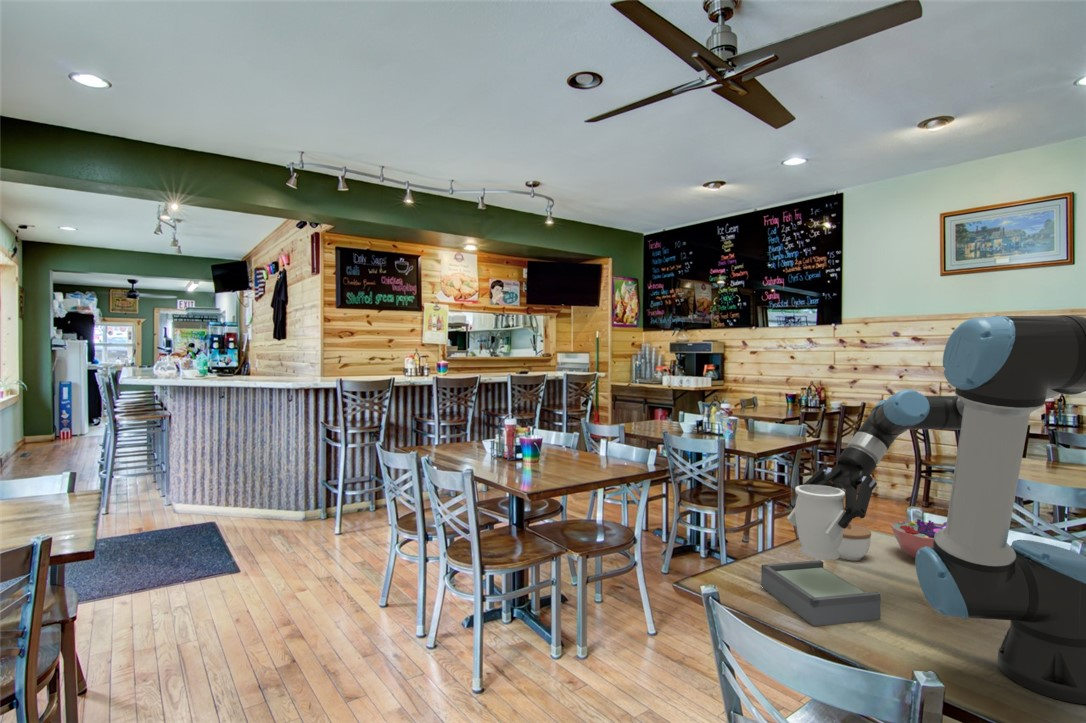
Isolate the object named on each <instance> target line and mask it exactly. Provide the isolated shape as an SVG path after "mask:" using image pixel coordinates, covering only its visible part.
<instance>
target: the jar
mask: <svg viewBox="0 0 1086 723" xmlns="http://www.w3.org/2000/svg"><path fill="white" fill-rule="evenodd" d="M794 491H795V494H797V496H796V500H795V504H796V505H795V504H794V505H795V520H796V532H797V536H798V539H799V542H800V543H801V546H800V548H799V552H800V554H802V555H803V556H805V557H808V558H811V559H814V560H821V561H834V560H837V559H840V553H839V552H838V550H837V549H838V548H839V546H840V544H841V541H842V537H843V531H844V528H843V530H842V531H841V532H840V534H839V535H838V537H837V538H836V540H835V541H832V540H831V539H830V538H829V537H828V536H827V535H826V533H825V532H826V530H827V529H828V528H829V526H830V525H831V523H832V522H833V520H834V519H835V518H836V516H837V515H838V513H839V512H840V510H844V508H845V505H844V500H843V499H845V498H846V491H845V490H844V489H842V488H834V487H830V486H823V485H803V484H801V485H797V486H795V489H794ZM844 511H845V510H844ZM845 512H846V511H845Z"/></svg>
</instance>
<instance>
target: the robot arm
mask: <svg viewBox="0 0 1086 723" xmlns="http://www.w3.org/2000/svg"><path fill="white" fill-rule="evenodd" d="M942 367H943V368H944V370H943V374H944V378H945V379H946V381H947V382H948V384H950V386H952V387H953V388H955V390H954V394H955V395H924V394H923V393H921V392H918V391H917V390H914V389H903V390H900V391H897V392H896V393H895V394H892V395H891V396H889V397H887V399H882V400H880V401H879V402H878V403H876V405H874V407H872V409H871V410H870V413H869V415H868V416H867V418H866V419H865V420H864V421H863V422H862V425H861V426H860V427H859V429H858V430H857V431H856V433H855V434H854V435H853V437H852V438H851V440H850V441H849V442H848V443H847V444H846V447H845V448H844V449H843V451H842V452H841V453H840V454H839V456H838V458H837V463H836V465H835V466H833V467H828V466H827V465H826V464H822V465H821V467H820V468H819V470H817V472H815V473H814V474H813V475H812V476H811V477H810V478H809V479H807V480H806V481H805V482H804V483H803V484H802V485H823V486H830V487H834V488H838V489H842V490H844V491H845V497H844V499H845V505H844V510H845V511H844V510H840V512H839V513H838V515H837V516H836V518H835V519H834V520H833V522H832V523H831V525H830V526H829V528H828V529H827V530H826V532H825V533H826V535H827V536H828V537H829V538H830V539H831V540H832V541H835V540H836V538H837V537H838V535H839V534H840V532H841V531H842V530H843V528H844V529H845V528H847V526H848V525H849V523H851V522H852V520H853V519H855V518H860V519H864V518H865V517H866V515H867V511H868V508H869V504H870V500H871V497H872V493H873V490H874V489H875V488H876V487H877V485H878V482H877V481H876V480H875V479H874V478H873V477H872V474H873V473H874V471H875V469H876V468H877V465H878V464H879V463H880V462H881V460H882V459H883V457H884V456H885V454H886V453H887V452H888V450H889V449H890V448H891V446H892V444H893V443H894V442H895V440H896V439H897V438H898V437H899V436H901V435H902V434H903V433H905V432H907V431H908V430H949V431H950V430H951V431H952V430H953V431H954V430H955V431H956V430H958V431H959V437H958V445H957V451H956V458H955V464H954V470H953V471H954V472H953V477H952V485H951V489H950V490H951V492H950V498H949V504H948V512H947V518H946V522H947V524H946V527H945V528H943V529H940V530H938V531H937V532H936V533H935V535H934V542H933V547H931V548H930V547H927V546H925V547H923V548H921V549H919V550H918V551H917V553H916V558H914V562H915V563H914V564H915V572H916V577H917V579H918V580H917V581H918V583H919V586H920V589H921V591H922V593H923V595H924V598H925V599H926V601H927V603H928V604H929V605H930V607H932V608H933V610H934V611H936V612H937V613H939V614H940V615H942V616H945V617H955V618H961V619H962V620H967V619H981V620H984V619H985V620H999V621H1000V620H1001V621H1010V625H1009V627H1008V630H1007V632H1006V634H1005V636H1004V638H1003V640H1002V643H1001V645H1000V647H999V648H998V651H997V666H998V669H999V670H1000V671H1001V672H1002V673H1003V674H1004V675H1005V676H1006V677H1007V678H1009V679H1010V680H1012V681H1013V682H1014V683H1016V684H1018V685H1019V686H1022V687H1023V688H1026V689H1028V690H1031V691H1032V692H1035V693H1038V694H1041V695H1043V696H1046V697H1048V698H1052V699H1056V700H1060V701H1063V702H1068V703H1073V704H1080V705H1086V556H1085V555H1083V554H1081V553H1078V552H1076V551H1073V550H1071V549H1067V548H1064V547H1061V546H1057V545H1054V544H1049V543H1046V542H1041V541H1040V542H1039V541H1034V540H1028V539H1027V540H1026V539H1016V540H1013V541H1012V542H1011V545H1010V544H1009V543H1008V538H1009V532H1010V526H1011V522H1012V516H1013V510H1014V504H1015V499H1016V494H1017V489H1018V488H1017V487H1018V483H1019V477H1020V471H1021V466H1022V462H1023V455H1024V450H1025V443H1026V439H1027V432H1028V428H1029V427H1028V426H1029V421H1030V417H1031V416H1030V415H1031V414H1032V413H1033V412H1035V411H1037V410H1039V409H1041V408H1043V407H1044V406H1045V403H1046V401H1047V400H1049V399H1051V398H1054V397H1056V396H1058V395H1065V396H1066V395H1067V396H1073V395H1078V394H1082V393H1085V392H1086V317H1085V316H1079V315H1069V314H1067V315H1066V314H1065V315H993V316H984V317H982V316H981V317H973V318H969V319H967V320H965V321H963V322H962V323H960V324H959V325H958V326H957V327H956V328H955V329H953V331H952V333H951V334H950V336H949V337H948V339H947V342H946V343H945V347H944V350H943V356H942ZM859 486H860V487H859ZM858 489H859V490H858ZM795 505H796V503H795V504H794V505H793V509H792V510H791V512H790V513H789V514H788V516H787V517H786V520H788V521H789V522H790V524H791V525H792V526H793V527H797V525H796V520H795Z"/></svg>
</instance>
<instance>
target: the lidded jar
mask: <svg viewBox="0 0 1086 723" xmlns="http://www.w3.org/2000/svg"><path fill="white" fill-rule="evenodd" d="M871 538H872V532H871V530H870V529H868V528H867V527H864V526H861V525H857V524H852V523H851V522H850V523H849V525H848V526H847V528H845V529H844V531H843V537H842V541H841V544H840V546H839V548H838V549H837V550H838V552H839V553H840V557H839V559H842V560H847V561H860V560H862V558H863V557H865V556H866V555H867V553H868V552H869V550H870V547H871Z"/></svg>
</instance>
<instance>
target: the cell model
mask: <svg viewBox="0 0 1086 723" xmlns="http://www.w3.org/2000/svg"><path fill="white" fill-rule="evenodd" d="M946 524H947V521H945V522H943V523H942V524H941V523H936V522H934V521H932V520H928V521H927V522H925V521H922V520H921V519H918V518H917V519H916V521H915V520H910V521H909V520H900V521H895V522H892V523H890V528H891V530H892V532H893V535H894V537H895V539H896V542H897V543H898V545H899V548H900V549H901V551H903V553H905V554H906V555H908V556H910V557H912V558H914V559H916V553H917V551H918V550H919V549H921V548H923V547H925V546H927V547H930V548H931V547H933V542H934V535H935V533H936V532H937V531H938V530H940V529H943V528H945V527H946Z"/></svg>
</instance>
